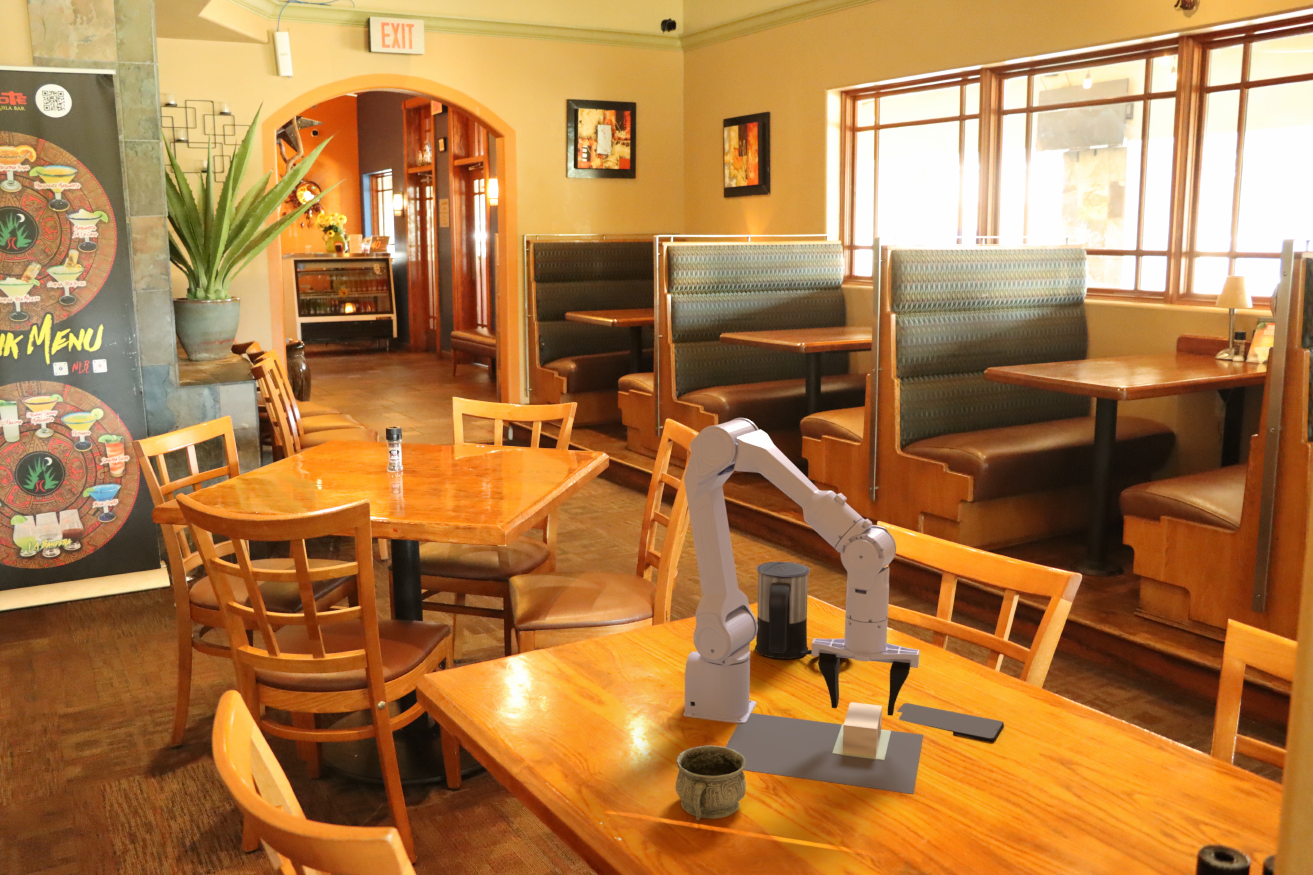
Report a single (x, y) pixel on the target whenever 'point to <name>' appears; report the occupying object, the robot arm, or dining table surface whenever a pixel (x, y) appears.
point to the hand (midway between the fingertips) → (862, 708)
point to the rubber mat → (826, 753)
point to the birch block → (862, 729)
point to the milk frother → (782, 610)
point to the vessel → (710, 781)
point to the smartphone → (952, 722)
